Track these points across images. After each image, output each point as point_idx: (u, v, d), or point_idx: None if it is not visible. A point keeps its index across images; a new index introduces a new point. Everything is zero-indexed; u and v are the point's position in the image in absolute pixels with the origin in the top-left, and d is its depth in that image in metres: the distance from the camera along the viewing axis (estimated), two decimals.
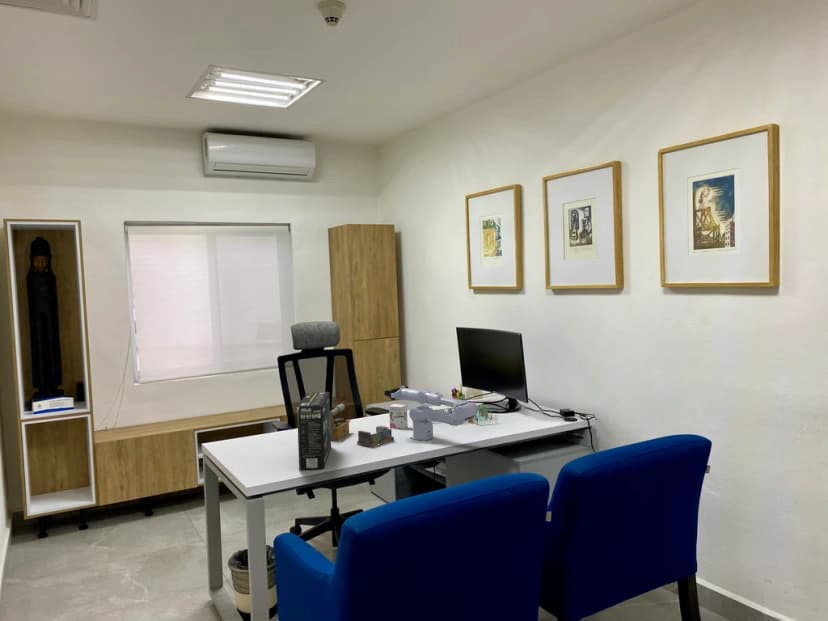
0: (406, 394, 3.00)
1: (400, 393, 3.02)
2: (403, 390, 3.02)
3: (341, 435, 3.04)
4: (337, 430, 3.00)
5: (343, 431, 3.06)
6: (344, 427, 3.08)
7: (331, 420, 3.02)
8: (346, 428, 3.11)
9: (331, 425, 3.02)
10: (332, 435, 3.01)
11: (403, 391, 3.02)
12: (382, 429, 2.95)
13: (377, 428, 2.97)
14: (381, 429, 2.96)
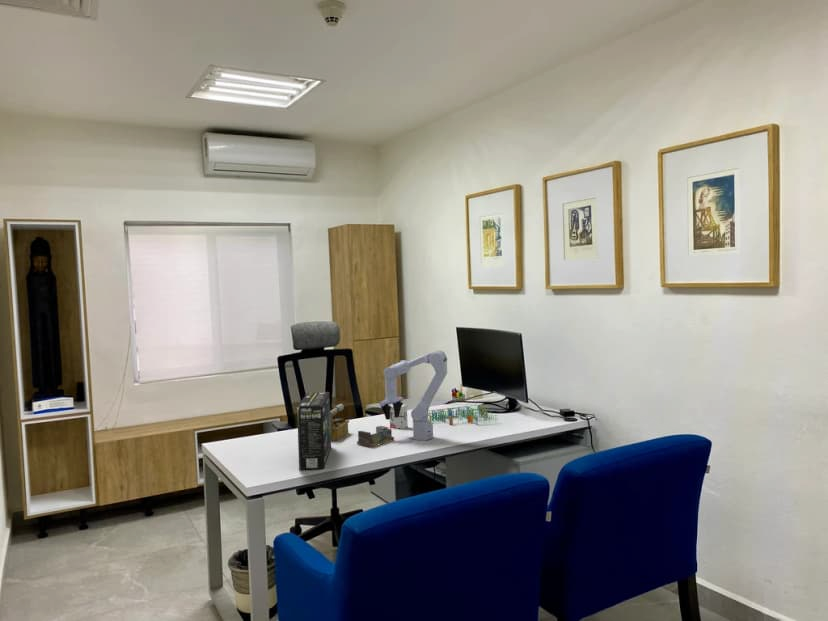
0: (386, 391, 3.01)
1: (386, 399, 3.01)
2: None
3: (340, 435, 3.03)
4: (336, 430, 3.00)
5: (342, 431, 3.06)
6: (343, 427, 3.08)
7: (330, 420, 3.01)
8: (345, 429, 3.11)
9: (330, 425, 3.01)
10: (331, 435, 3.01)
11: None
12: (382, 429, 2.95)
13: (377, 428, 2.97)
14: (381, 429, 2.96)
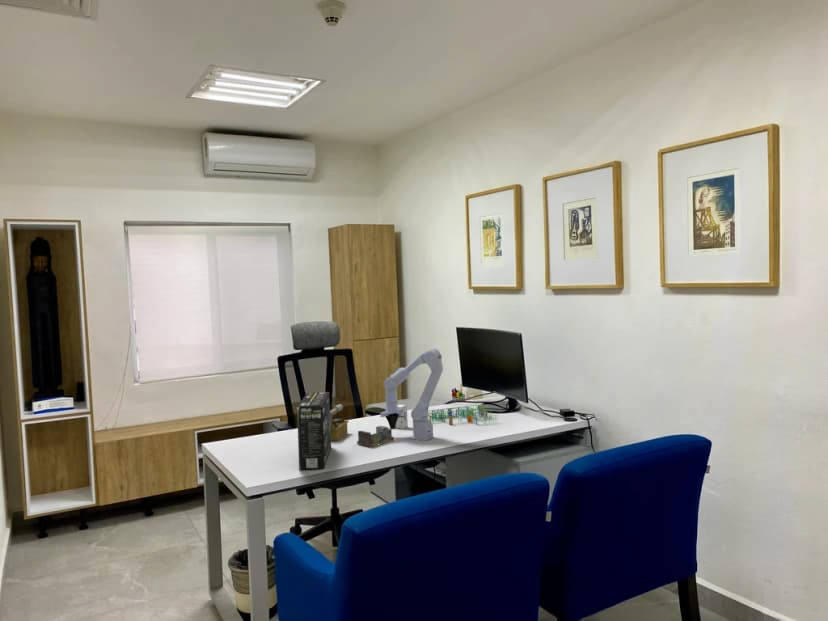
0: (387, 402, 3.01)
1: (387, 410, 3.01)
2: (386, 407, 3.03)
3: (340, 435, 3.03)
4: (336, 430, 2.99)
5: (341, 432, 3.05)
6: (342, 427, 3.07)
7: (330, 420, 3.01)
8: (345, 429, 3.10)
9: (330, 425, 3.01)
10: (331, 436, 3.00)
11: (386, 407, 3.02)
12: (382, 429, 2.95)
13: (377, 428, 2.97)
14: (381, 429, 2.96)
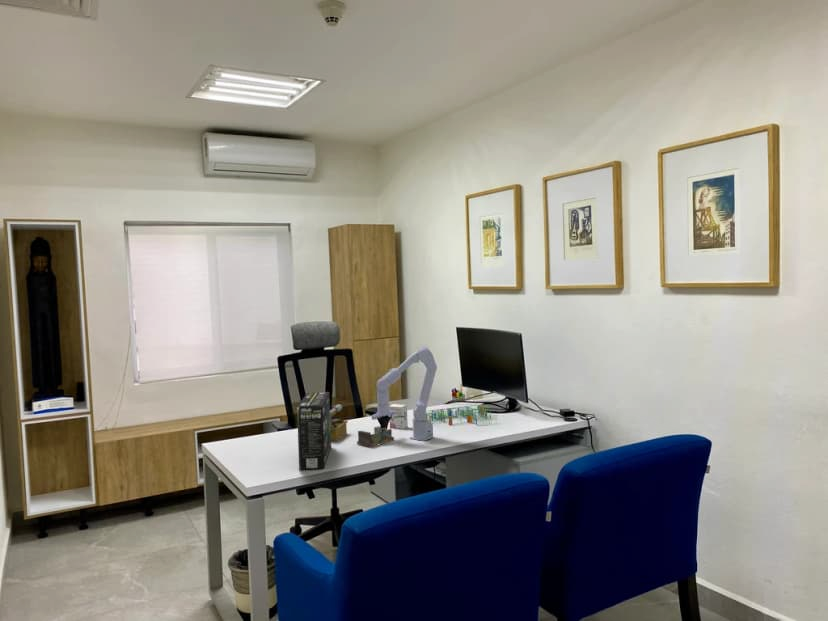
0: (378, 404, 2.97)
1: (378, 412, 2.97)
2: None
3: (339, 436, 3.03)
4: (335, 431, 2.99)
5: (340, 432, 3.05)
6: (342, 428, 3.07)
7: None
8: (344, 429, 3.10)
9: None
10: None
11: None
12: (381, 430, 2.94)
13: (375, 429, 2.96)
14: (379, 430, 2.95)
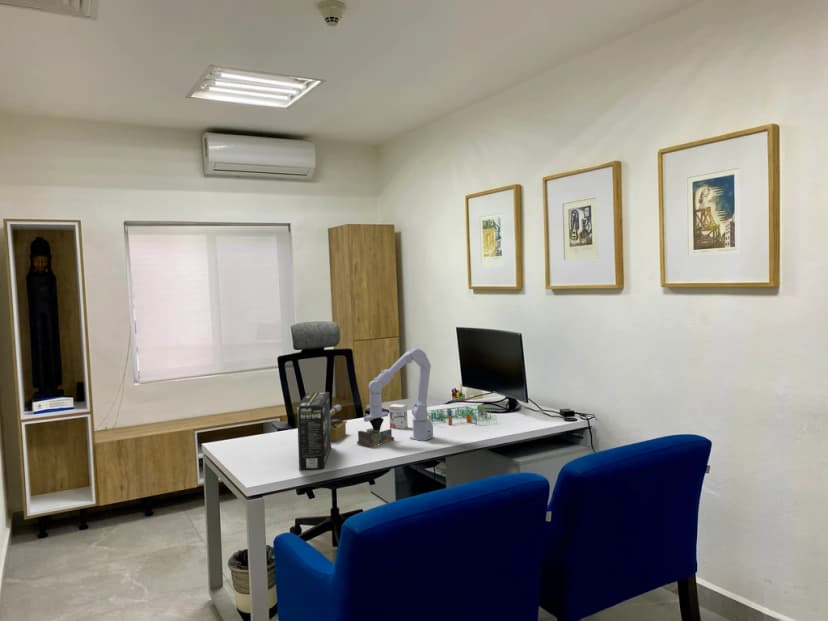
0: (371, 406, 2.93)
1: (371, 414, 2.93)
2: (370, 411, 2.95)
3: (338, 436, 3.02)
4: (334, 431, 2.98)
5: (340, 432, 3.04)
6: (341, 428, 3.07)
7: None
8: (343, 429, 3.09)
9: None
10: None
11: (370, 411, 2.94)
12: (373, 432, 2.90)
13: (368, 431, 2.93)
14: (372, 432, 2.91)
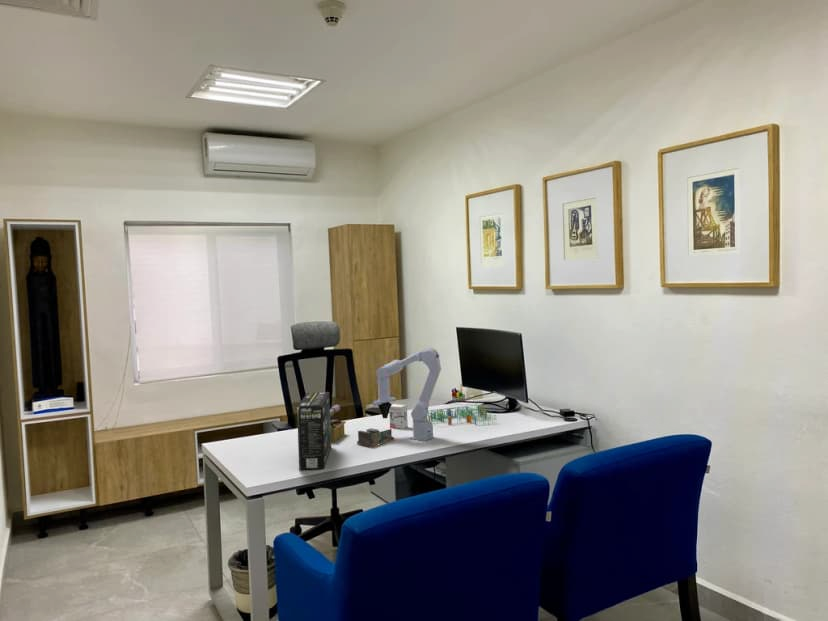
0: (379, 391, 3.01)
1: (379, 399, 3.02)
2: None
3: (337, 436, 3.01)
4: (333, 431, 2.98)
5: (339, 433, 3.04)
6: (340, 428, 3.06)
7: None
8: (342, 430, 3.09)
9: None
10: None
11: None
12: (373, 432, 2.90)
13: (368, 431, 2.93)
14: (372, 432, 2.91)
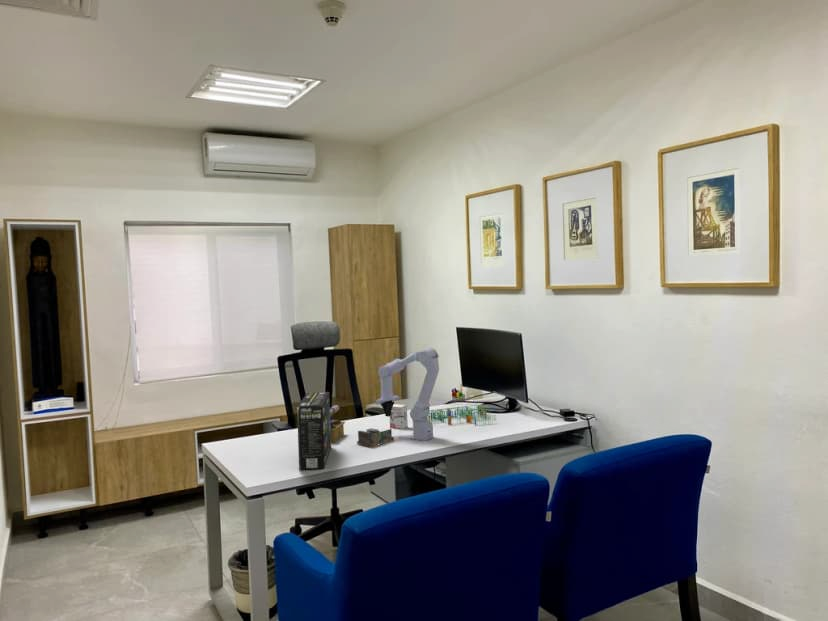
0: (382, 390, 3.05)
1: (382, 398, 3.06)
2: (381, 395, 3.07)
3: (337, 437, 3.01)
4: (333, 432, 2.97)
5: (338, 433, 3.03)
6: (339, 429, 3.05)
7: None
8: (341, 430, 3.08)
9: None
10: None
11: (381, 394, 3.07)
12: (373, 432, 2.90)
13: (368, 431, 2.93)
14: (372, 432, 2.91)
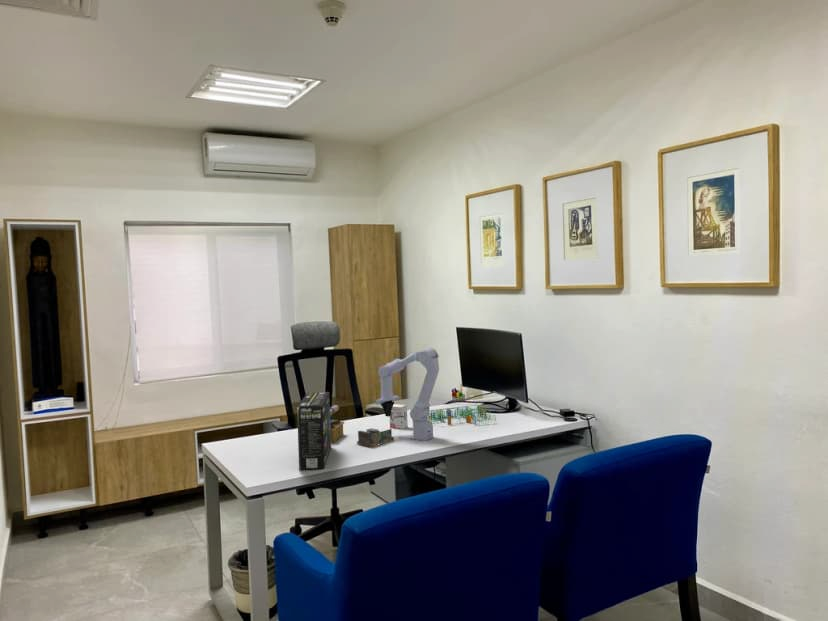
0: (382, 390, 3.05)
1: (382, 398, 3.06)
2: (381, 395, 3.07)
3: (336, 437, 3.01)
4: (333, 432, 2.97)
5: (338, 433, 3.03)
6: (339, 429, 3.05)
7: None
8: (341, 430, 3.08)
9: None
10: None
11: (381, 394, 3.07)
12: (373, 432, 2.90)
13: (368, 431, 2.93)
14: (372, 432, 2.91)
